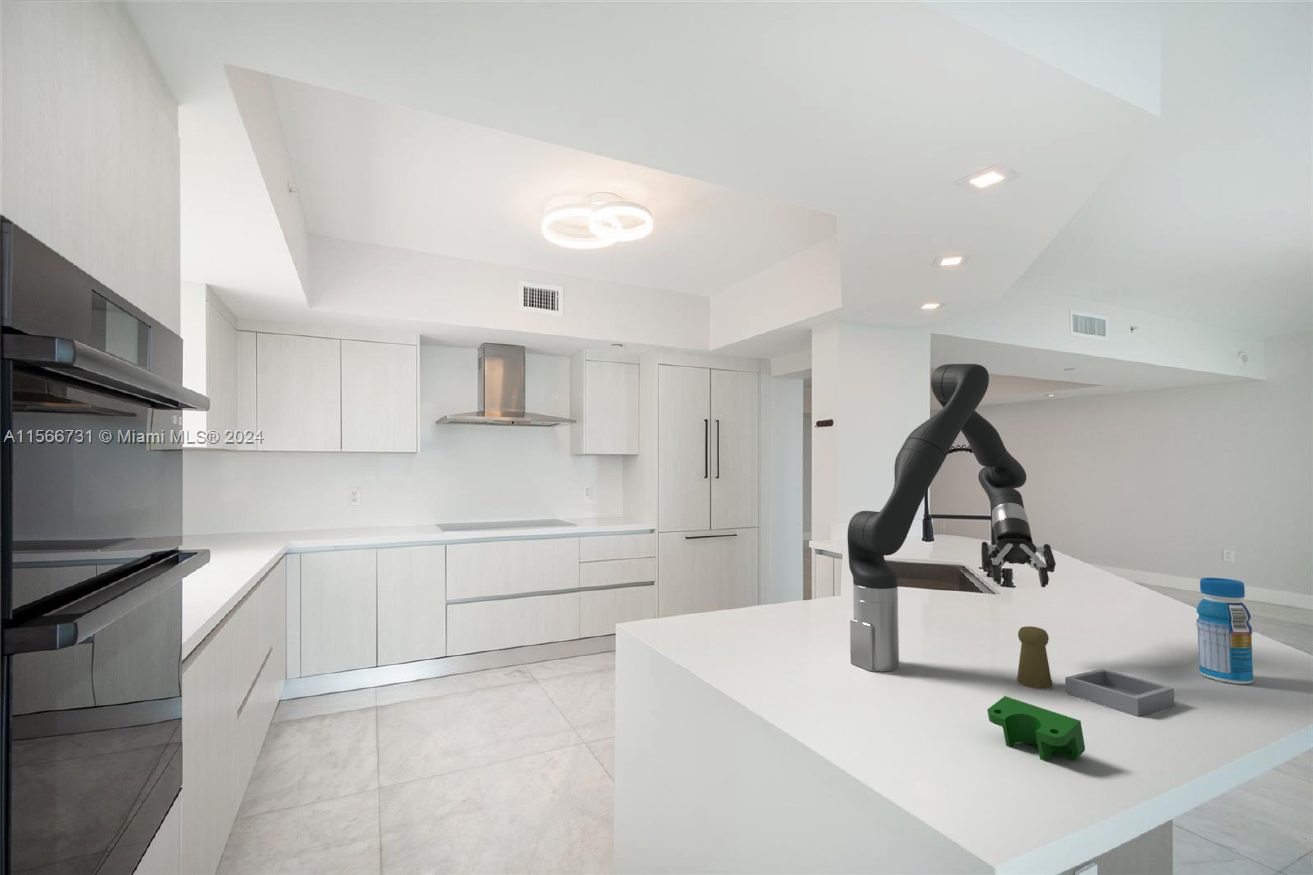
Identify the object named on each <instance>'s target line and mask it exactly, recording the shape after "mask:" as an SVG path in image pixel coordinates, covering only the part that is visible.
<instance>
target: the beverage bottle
mask: <svg viewBox="0 0 1313 875" xmlns="http://www.w3.org/2000/svg"><path fill="white" fill-rule="evenodd" d="M1199 588H1200V594H1201V595H1203V596H1204V597H1203V598H1202V599H1201V600H1200V601H1199V603H1198V605H1197V608H1196V613H1197V614H1198V617H1197V619H1196V625H1195V626H1196V628H1197V643H1198V645H1197V648H1198V662H1199V663H1198V664H1199V665H1198V669H1199V670H1198V671H1199V673H1200V674H1201V675H1202V676H1204V677H1205V678H1208V679H1210V678H1211V679H1210V680H1213V679H1214V681H1217V682H1221V683H1226V682H1227V683H1226V684H1236V685H1249V684H1252V683H1254V680H1255V679H1254V667H1253V665H1254V664H1253V643H1252V642H1253V638H1252V635H1253V627H1252V626H1251V624H1250V620H1251V618H1252V616H1251V613H1250V611H1249V609H1248V608H1247V606H1246V605H1245V604H1244V602H1243V601H1241V600H1244V599H1245V596H1246V593H1245V592H1246V591H1245V590H1246V589H1245V584H1244V582H1243V581H1241V580H1238V579H1237V580H1236V579H1230V578H1223V577H1222V578H1220V577H1201V578H1200V580H1199Z"/></svg>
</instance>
